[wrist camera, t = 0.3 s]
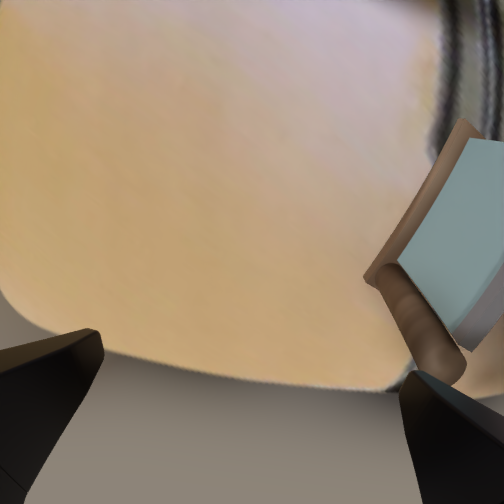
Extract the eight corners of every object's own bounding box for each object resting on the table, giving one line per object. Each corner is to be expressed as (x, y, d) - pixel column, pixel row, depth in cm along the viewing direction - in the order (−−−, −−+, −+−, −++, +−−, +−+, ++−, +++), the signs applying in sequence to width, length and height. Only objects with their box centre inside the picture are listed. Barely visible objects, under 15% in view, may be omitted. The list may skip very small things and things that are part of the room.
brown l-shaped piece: (362, 276, 22) (411, 384, 11) (458, 118, 17) (571, 126, 6) (388, 291, 22) (444, 397, 12) (481, 140, 17) (591, 164, 7)
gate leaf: (396, 260, 19) (458, 344, 11) (469, 137, 16) (568, 155, 7) (409, 268, 19) (471, 352, 11) (480, 148, 16) (578, 172, 7)
